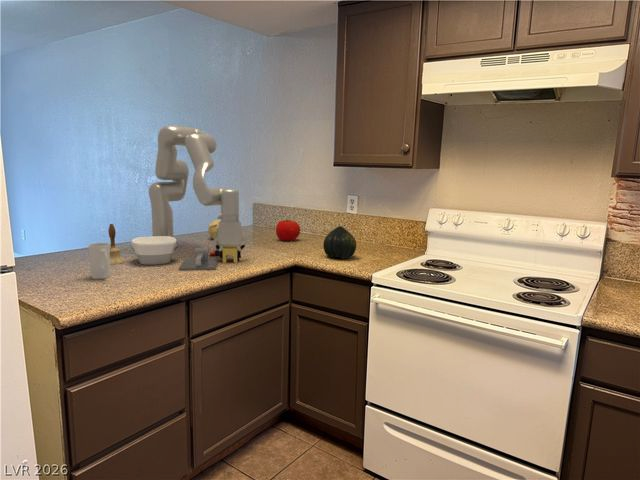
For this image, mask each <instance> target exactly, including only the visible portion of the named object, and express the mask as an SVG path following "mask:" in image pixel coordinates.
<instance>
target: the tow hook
mask: <svg viewBox="0 0 640 480" xmlns="http://www.w3.org/2000/svg"><path fill="white" fill-rule="evenodd" d="M217 236H218V228H217V232H216V237H217ZM216 243H217V244H218V241H217V242H216ZM218 245H219V244H218ZM219 246H220V245H219ZM209 256H211V257H212V256H213V257H220V251H219V250H218V249H217V248H216V247H215V250H214V251H211V252H209Z"/></svg>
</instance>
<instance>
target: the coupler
mask: <svg viewBox="0 0 640 480" xmlns="http://www.w3.org/2000/svg"><path fill="white" fill-rule="evenodd" d="M194 250H195V251H194V253H195V254H194V255H195V257H194V258H193V257H192V258H190V257H189V258H184V260H183V262H182V263H181V265H180V266H179V268H178V271H216V270H217V268H218V264H219V261H220V257H219V258H218V257H215V258H214V257H209V248H208V247H207V248H205V247H204V248H203V247H200V248H195V249H194Z"/></svg>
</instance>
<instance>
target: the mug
mask: <svg viewBox="0 0 640 480" xmlns="http://www.w3.org/2000/svg"><path fill="white" fill-rule="evenodd" d="M110 248H111V246H110V242H109V243H108V242H93V243H88V255H89V267H90V268H89V269H90V276H91V279H94V280H103V279H104V280H105V279H108V278H110V277H111V265H110Z"/></svg>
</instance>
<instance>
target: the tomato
mask: <svg viewBox="0 0 640 480" xmlns="http://www.w3.org/2000/svg"><path fill="white" fill-rule="evenodd" d="M275 233H276V237H277V238H278V239H279V240H280V241H283V242H285V241H286V242H290V241H295V240H296V239H297V238H299V235H300V233H301V228H300V224H299V222H297V221H294V220H291V219H289V220H288V219H283V220H279V221H278V222H277V224H276V228H275Z"/></svg>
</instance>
